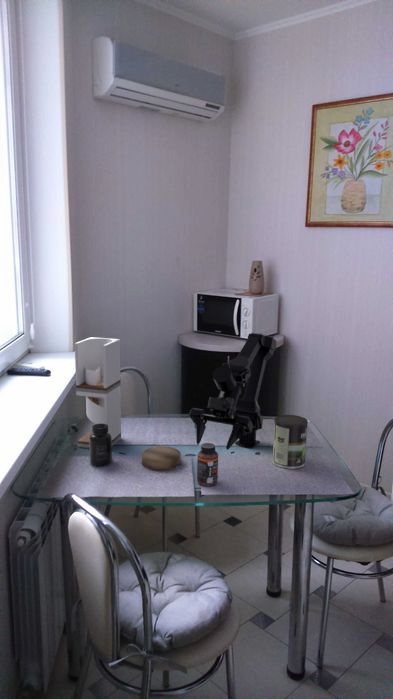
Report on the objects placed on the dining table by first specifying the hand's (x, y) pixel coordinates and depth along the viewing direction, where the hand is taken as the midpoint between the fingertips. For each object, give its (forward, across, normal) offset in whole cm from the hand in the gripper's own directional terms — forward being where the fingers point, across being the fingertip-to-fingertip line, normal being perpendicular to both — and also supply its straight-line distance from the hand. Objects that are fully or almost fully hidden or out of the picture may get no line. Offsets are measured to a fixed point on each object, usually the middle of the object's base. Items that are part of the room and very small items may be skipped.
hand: (212, 446), depth 158 cm
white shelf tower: (+1, -45, +13) cm, 47 cm away
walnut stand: (+5, -18, +9) cm, 21 cm away
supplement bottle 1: (+11, -35, +3) cm, 37 cm away
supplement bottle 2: (+9, 0, +5) cm, 11 cm away
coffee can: (-8, +17, +22) cm, 29 cm away
